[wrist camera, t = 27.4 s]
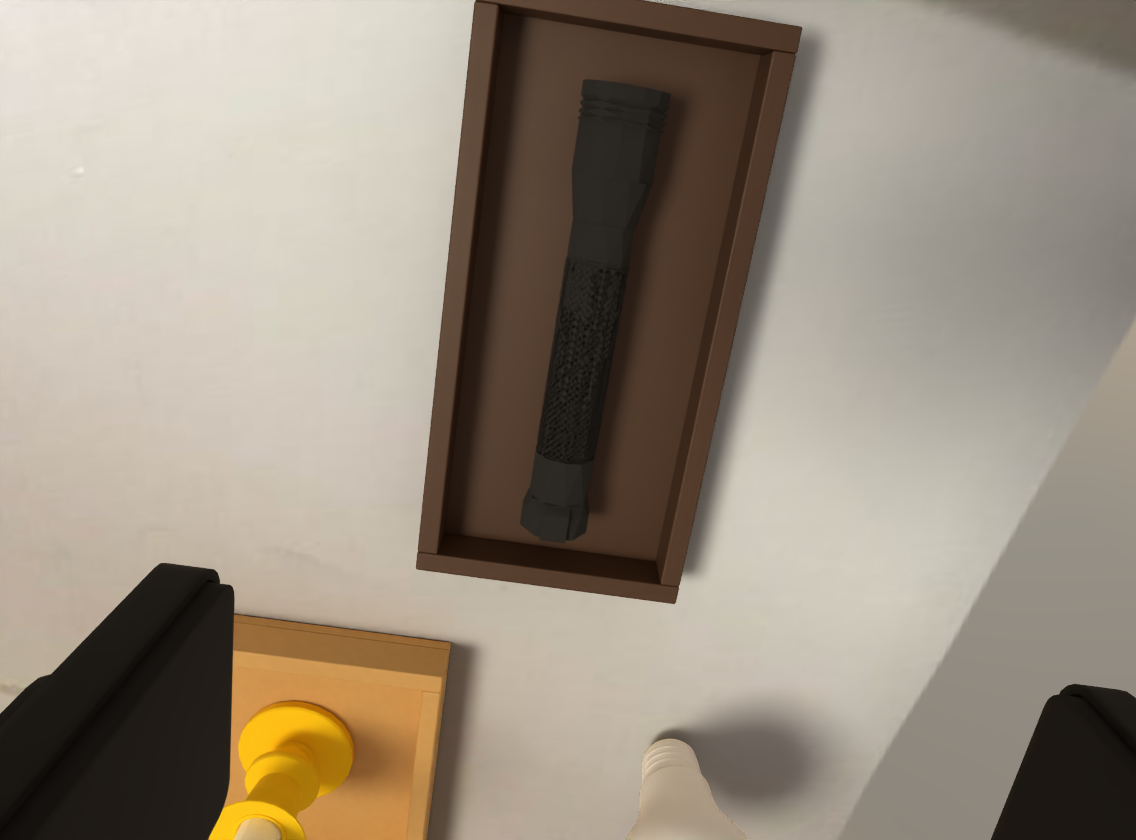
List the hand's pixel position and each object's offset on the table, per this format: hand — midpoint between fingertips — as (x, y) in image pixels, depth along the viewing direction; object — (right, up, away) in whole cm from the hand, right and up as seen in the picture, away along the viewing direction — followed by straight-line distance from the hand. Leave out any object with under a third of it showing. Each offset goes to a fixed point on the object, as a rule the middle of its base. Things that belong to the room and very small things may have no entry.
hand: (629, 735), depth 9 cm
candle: (-13, -12, +29) cm, 34 cm away
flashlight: (0, +8, +23) cm, 24 cm away
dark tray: (0, +8, +23) cm, 24 cm away
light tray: (-13, -11, +29) cm, 34 cm away
